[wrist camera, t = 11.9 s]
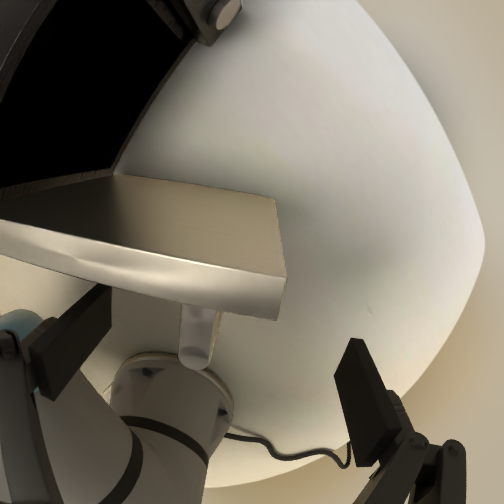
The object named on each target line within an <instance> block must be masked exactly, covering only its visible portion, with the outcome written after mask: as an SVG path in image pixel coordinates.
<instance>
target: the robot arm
mask: <svg viewBox="0 0 504 504" xmlns="http://www.w3.org/2000/svg"><path fill="white" fill-rule="evenodd" d="M111 302H112V287H111V286H107V285H103V284H100V283H98V284H97V285H95V286H94V287H93V288H92V289H91V290H90V291H88V292H87V293H86V294H85V295H84V296H83V297H82V298H80V299H79V300H78V301H77V302H76V303H75V304H74V305H72V306H71V307H70V308H69V309H68V310H67V311H66V312H65V313H64V314H62V315H61V316H60V317H59V318H58V319H57V318H55V317H50V318H48V319H46V320H43V319H42V318H41V317H40V316H39V315H37V314H36V313H34V312H32V311H30V310H25V309H20V310H15V311H12V312H9V313H7V314H4V315H2V316H0V504H201V502H202V496H203V490H204V485H205V479H206V474H207V468H208V462H209V459H210V457H211V455H212V454H213V452H214V451H215V449H216V448H217V446H218V445H219V443H220V442H221V440H222V439H223V437H225V438H229V439H234V440H239V441H245V442H257V443H261V444H263V445H265V446H266V447H267V449H268V451H269V453H270V454H271V456H272V457H274V458H275V459H278V460H282V461H292V460H297V459H301V458H304V457H308V456H312V455H317V454H324V455H328V456H330V457H332V458H333V459H334V460H335V461H336V463H337V464H338V466H339V467H340V468H342V469H346V468H347V467H348V466H349V465H350V462H351V446H352V450H353V454H354V458H355V463H356V466H357V467H372V466H373V464H374V463H375V462H376V461H377V460H379V463H380V466H379V468H378V469H377V470H376V471H375V472H374V473H373V474H372V475H371V476H370V477H369V479H370V480H369V482H368V483H367V485H366V486H365V487H364V489H363V490H362V492H361V493H360V494H359V496H358V497H357V499H356V500H355V502H354V503H353V504H404V502H405V500H406V498H407V497H408V494H409V493H410V496H409V500H408V504H466V451H465V448H464V446H463V445H462V444H461V443H460V442H459V441H456V440H452V439H450V440H447V441H446V442H445V443H444V444H443V445H442V446H439V445H433V444H429V441H428V440H427V438H426V437H425V436H424V435H422V434H421V433H418V432H415V431H414V429H413V426H412V424H411V422H410V420H409V417H408V416H407V413H406V412H405V409H404V407H403V406H402V405H403V404H402V402H401V400H400V398H399V396H398V395H397V394H396V393H395V392H394V391H393V390H386V388H385V386H384V383H383V381H382V379H381V377H380V374H379V372H378V370H377V368H376V366H375V364H374V361H373V359H372V357H371V355H370V353H369V351H368V349H367V346H366V344H365V342H364V340H363V339H357V338H350V341H349V343H348V345H347V348H346V350H345V352H344V354H343V357H342V359H341V361H340V363H339V365H338V367H337V370H336V372H335V374H334V379H335V383H336V386H337V390H338V394H339V398H340V402H341V405H342V409H343V413H344V417H345V421H346V425H347V429H348V433H349V437H350V441H349V442H347V460H346V463H345V465H344V464H343V463H342V462H341V460H340V459H339V458H338V456H337V455H335V454H334V453H333V452H331V451H327V450H314V451H309V452H306V453H302V454H299V455H295V456H280V455H278V454H276V453H275V451H274V449H273V447H272V446H271V444H270V443H269V442H268V441H266V440H264V439H262V438H258V437H247V436H241V435H236V434H231V433H227V431H228V429H229V427H230V424H231V421H232V416H233V407H234V405H233V400H232V396H231V394H230V392H229V390H228V388H227V387H226V385H225V384H224V383H223V382H222V381H221V380H220V379H219V378H218V377H217V376H216V375H215V374H214V373H213V372H211V371H210V370H208V369H207V368H204V369H201V370H192V369H189V368H187V367H185V366H184V365H183V364H182V363H181V362H180V360H179V358H178V355H174V354H170V353H162V352H149V353H142V354H138V355H135V356H133V357H131V358H129V359H128V360H127V361H125V362H124V363H123V364H122V366H121V367H120V369H119V370H118V372H117V374H116V376H115V378H114V381H113V382H112V383H111V384H110V385H109V386H108V387H107V388H106V389H105V391H106V390H107V389H108V388H109V387H110V386H111V385H112V390H111V399H110V406H109V405H108V404H107V403H106V401H105V400H104V399H103V398H102V397H101V396H100V394H99V393H98V392H97V391H96V390H95V388H94V387H93V386H92V385H91V383H90V382H89V381H88V380H87V378H86V377H85V376H84V375H83V373H82V372H81V371H80V369H79V368H80V367H81V365H82V364H83V363H84V362H85V360H86V359H87V358H88V356H89V355H90V354H91V353H92V351H93V350H94V349H95V347H96V346H97V345H98V344H99V342H100V341H101V340H102V339H103V337H104V336H105V335H106V334H107V332H108V331H109V330H110V329H111V327H112V316H111ZM105 391H104V392H105ZM104 392H103V393H104Z"/></svg>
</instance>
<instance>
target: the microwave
mask: <svg viewBox="0 0 504 504" xmlns="http://www.w3.org/2000/svg"><path fill="white" fill-rule="evenodd" d="M241 10H242V5H241V0H0V202H1V201H4V200H8V199H11V198H15V197H18V196H22V195H26V194H30V193H33V192H37V191H41V190H45V189H50V188H54V187H58V186H62V185H67V184H71V183H76V182H81V181H86V180H90V179H96V178H101V177H106V176H111V174H112V172H113V170H114V168H115V166H116V165H117V163H118V161H119V159H120V157H121V155H122V153H123V151H124V150H125V148H126V146H127V144H128V142H129V141H130V139H131V137H132V135H133V134H134V132H135V130H136V128H137V127H138V125H139V123H140V122H141V120H142V118H143V117H144V115H145V113H146V112H147V110H148V109H149V107H150V105H151V104H152V102H153V101H154V99H155V98H156V96H157V95H158V93H159V92H160V90H161V89H162V87H163V86H164V84H165V83H166V81H167V80H168V78H169V77H170V75H171V74H172V73H173V71H174V70H175V68H176V67H177V65H178V64H179V63H180V61H181V60H182V59H183V57H184V56H185V55H186V53H187V52H188V51H189V49H190V48H191V47H192V45H193V44H194V43H195V42H196V40H197V41H199V42H201V43H203V44H205V45H207V46H209V47H211V45H212V44H213V43H214V41H215V40H216V39H217V38H218V37H219V35H220V34H221V33H222V32H223V30H224V29H225V28H226V27H227V26H228V24H229V23H230V22H231V21H232V20H233V19H234V17H235V16H236V15H237V14H238V13H239V12H240V11H241Z"/></svg>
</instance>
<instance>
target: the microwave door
mask: <svg viewBox="0 0 504 504" xmlns="http://www.w3.org/2000/svg"><path fill="white" fill-rule="evenodd" d="M0 254H2V255H5V256H8V257H11V258H14V259H17V260H20V261H23V262H27V263H30V264H33V265H36V266H40V267H43V268H46V269H50V270H53V271H56V272H60V273H63V274H67V275H70V276H74V277H77V278H81V279H85V280H88V281H92V282H96V283H100V284H103V285H107V286H111V287H115V288H119V289H123V290H127V291H131V292H135V293H139V294H144V295H148V296H152V297H157V298H161V299H165V300H170V301H174V302H179V303H182V307H181V319H180V332H179V346H178V358H179V360H180V362H181V363H182V364H183V365H184V366H185V367H187V368H189V369H192V370H201V369H204V368H206V367H207V366H208V365H209V363H210V359H211V356H212V352H213V348H214V344H215V341H216V337H217V333H218V329H219V326H220V322H221V318H222V315H223V312H228V313H233V314H239V315H244V316H250V317H255V318H261V319H267V320H273V321H276V320H277V319H278V315H279V311H280V307H281V303H282V299H283V295H284V291H285V287H286V283H287V274H286V267H285V261H284V254H283V248H282V242H281V236H280V230H279V224H278V218H277V212H276V206H275V200H274V198H269V197H264V196H258V195H253V194H247V193H242V192H236V191H230V190H225V189H219V188H213V187H207V186H201V185H194V184H188V183H181V182H174V181H168V180H161V179H153V178H146V177H138V176H131V175H122V174H117V175H111V176H106V177H101V178H96V179H90V180H86V181H81V182H76V183H71V184H67V185H62V186H58V187H54V188H50V189H45V190H41V191H37V192H33V193H30V194H26V195H22V196H18V197H15V198H11V199H8V200H4V201H1V202H0Z"/></svg>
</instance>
